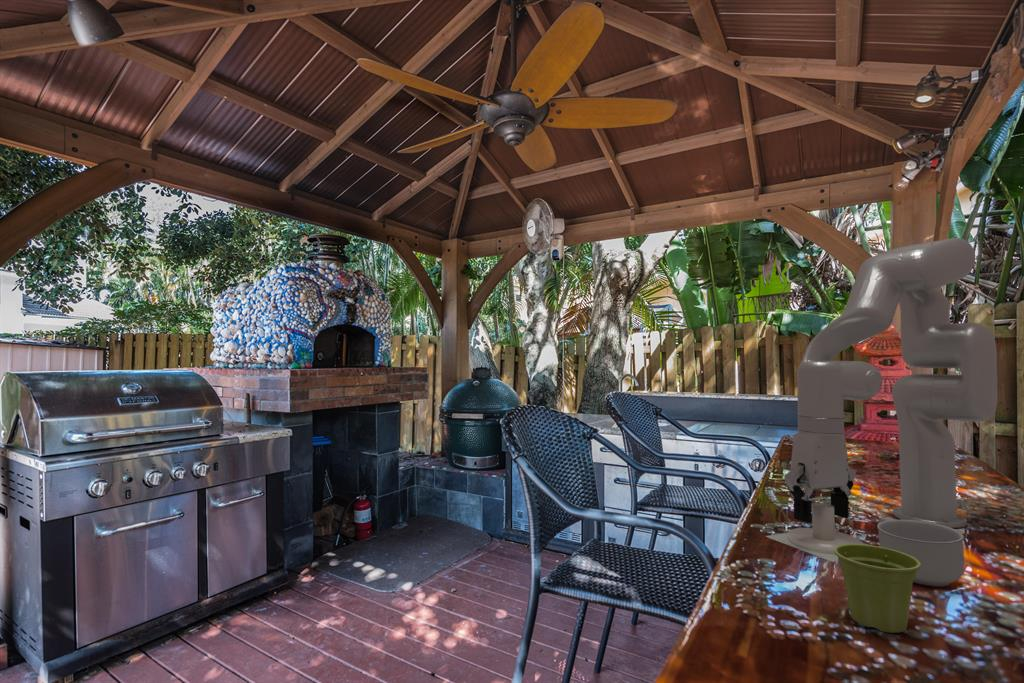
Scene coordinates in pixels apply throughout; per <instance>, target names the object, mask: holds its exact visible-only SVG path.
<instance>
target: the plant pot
mask: <svg viewBox="0 0 1024 683" xmlns="http://www.w3.org/2000/svg"><path fill="white" fill-rule="evenodd" d="M834 553H835V555H836V556H838V560H839V561H838V563H839V566H840V567H841V569H842V570H841V571H842V572H841V573H842V575H843V576H842V578H843V581H844V586H845V592H846V597H847V604H848V609H849V616H850V617H851V619H852V620H853V621H854V622H856V623H857V622H858V623H857V624H859V625H861V626H863V625H864V627H865V626H867V627H866V628H876V629H877V630H879V631H880V632H884V633H889V632H890V633H894V634H895V633H897V634H898V633H903V632H905V631H906V629H907V627H908V623H909V622H908V621H909V615H910V606H911V599H912V598H911V597H912V592H913V591H912V590H913V585H914V584H913V583H914V582H913V580H914V579H915V577H916V571H917V570H918V569H919V568H920V565H921V564H920V562H919V561H918V560H917V559H916V558H914V557H912V556H910V555H908V554H905V553H902V552H899V551H896V550H893V549H888V548H884V547H880V545H879V546H877V545H870V544H868V545H863V544H843V545H839V546H836V547H835V548H834Z"/></svg>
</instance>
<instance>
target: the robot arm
mask: <svg viewBox="0 0 1024 683" xmlns="http://www.w3.org/2000/svg"><path fill="white" fill-rule="evenodd" d="M975 263H976V252H975V249H974V247H973V246H972V244H971V243H970V242H969V241H967V240H966V239H965V238H961V237H953V238H951V237H950V238H946V239H945V238H944V239H940V240H935V241H929V242H928V241H927V242H924V243H916V244H911V245H904V246H900V247H895V248H892V249H889V250H886V251H884V252H882V253H880V254H876V255H873V256H871V257H868V258H867V259H866V260H865V261H863V263H861V265H860V268H859V270H858V272H857V275H856V276H855V277H856V278H855V280H854V283H853V284H852V287H851V291H850V292H849V293H850V294H849V297H848V300H847V301H846V305H845V307H844V310H843V312H842V313H841V314H840V316H837V318H835V319H834V320H833V321H831V322H830V323H829V324H828V325H826V326H825V327H824V328H823V329H822V330H821V331H819V332H818V333H817V334H816V335H815V336H814V337H813V339H812V340H810V342H809V344H808V345H807V347H806V350H805V351H804V354H803V357H802V360H801V362H800V363H799V365H798V366H797V373H796V374H797V378H796V379H797V432H795V434H794V438H793V443H792V449H791V461H790V471H788V472H787V473H786V474H784V481H785V483H786V486H787V490H788V491H789V493H790V496H791V497H792V498H793V518H794V520H797V521H800V522H804V523H806V524H812V500H809V499H810V497H811V495H812V494H813V491H814V490H827V489H828V490H829V489H831V491H832V492H831V493H830V505H833V506H834V516H836V517H840V518H842V519H843V518H844V519H848V518H849V517H850V515H849V514H850V510H849V509H850V508H849V507H850V503H849V502H850V501H849V499H850V497H851V494H852V492H851V490H852V489H853V487H854V481H855V477H856V475H857V472H856V471H855V470H854V469H852V468H851V467H850V466H849V458H848V457H849V456H848V448H847V441H846V436H845V415H844V414H845V412H844V410H845V406H844V405H845V404H844V400H848V401H849V400H850V401H864V400H869V399H871V398H873V397H875V396H876V395H877V394H878V393H879V392H880V391H881V388H882V386H883V377H882V374H881V372H880V370H879V369H878V368H877V367H876V366H874V365H873V364H871V363H869V362H866V361H860V360H834V359H835V358H836V357H837V355H839V354H840V353H842V351H844V350H846V349H847V348H849V347H851V346H853V345H855V344H858V343H861V342H863V341H866V340H868V339H871V338H873V337H875V336H878V335H880V334H882V333H884V332H886V330H888V329H889V328H890V327H891V326H892V323H893V320H894V316H895V314H896V311H897V308H898V305H899V310H900V353H901V358H902V360H903V362H904V363H905V364H906V365H908V366H910V367H913V368H920V369H921V368H923V369H959V370H960V373H961V374H942V373H941V374H937V373H935V374H934V373H932V374H931V373H917V374H915V373H913V374H908V375H904V376H902V377H899V378H898V379H897V380H896V381H895V382H894V383H893V385H892V390H891V395H892V396H891V397H892V402H893V406H894V409H895V414H896V418H897V426H898V427H897V428H898V444H899V445H898V447H899V449H898V450H899V452H898V454H899V476H900V478H899V480H900V481H899V482H900V502H901V503H900V506H896V507H893V509H892V515H894V517H895V518H898V519H899V520H917V521H925V522H930V523H935V524H940V525H943V526H946V527H950V528H952V529H956V528H964V527H966V526H967V524H968V520H967V518H966V517H964V516H962V515H960V514H958V510H959V509H963V508H965V507H966V505H967V503H966V501H965V500H963V499H961V498H958V499H957V481H956V479H957V477H956V454H955V453H956V451H955V450H956V448H955V440H954V436H953V435H952V433H951V431H950V430H949V428H948V427H947V426H946V425H945V423H943V421H942V420H950V421H959V422H960V421H961V422H986V421H988V420H990V419H991V418H992V417H994V415H995V413H996V412H997V411H996V410H997V406H998V351H997V343H996V339H995V336H994V334H993V333H992V331H991V329H989V327H987V326H986V325H984V324H982V323H978V322H977V323H976V322H958V323H957V322H956V323H955V322H954V323H951V321H950V302H949V300H948V298H947V297H946V295H945V294H944V293H943V292H942V291H941V289H939V288H940V287H944V286H946V285H950V284H951V283H955V282H957V281H960V280H961V279H964V278H966V277H967V276H968V275H969V274H970V273H971V272H972V270H973V269H974V267H975ZM803 489H804V490H803Z"/></svg>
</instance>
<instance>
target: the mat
mask: <svg viewBox="0 0 1024 683" xmlns="http://www.w3.org/2000/svg"><path fill="white" fill-rule="evenodd" d="M765 538H768V539H770V540H773V541H776V542H778V543H781V544H784V545H786V546H789V547H791V548H795V549H797V550H800V551H803V552H805V553H808V554H811V555H813V556H816V557H818V558H821V559H824V560H826V561H828V562H831V563H835V562H839V560H838V556H836V555H835V554H826V553H820V552H815V551H811V550H807V549H804V548H801V547H799V546H796V545H794V544H792V543H791V542H790V541H789V540H788V532H783V533H777V534H771V535H770V534H769V535H765ZM862 544H863V545H869V543H868V544H867V543H864V542H862Z"/></svg>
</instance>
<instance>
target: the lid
mask: <svg viewBox="0 0 1024 683" xmlns="http://www.w3.org/2000/svg"><path fill="white" fill-rule="evenodd" d="M835 516H836V515H834V506H833V505H831V503H830V504H829V503H823V502H813V503H812V502H811V518H812V521H811V524H812V525H811V526H812V527H797V528H792V529H789V530H787V533H788V540H789V541H790V542H791V543H792V544H794V545H796V546H799V547H801V548H804V549H807V550H811V551H815V552H820V553H826V554H835V553H834V548H835V547H836V546H839V545H843V544H862V543H863V542H862V541H861V540H860V539H859V538H857V537H854V536H853V535H850V534H848V533H844V532H840V531H836V527H835V526H836V524H835V521H836V520H835Z"/></svg>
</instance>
